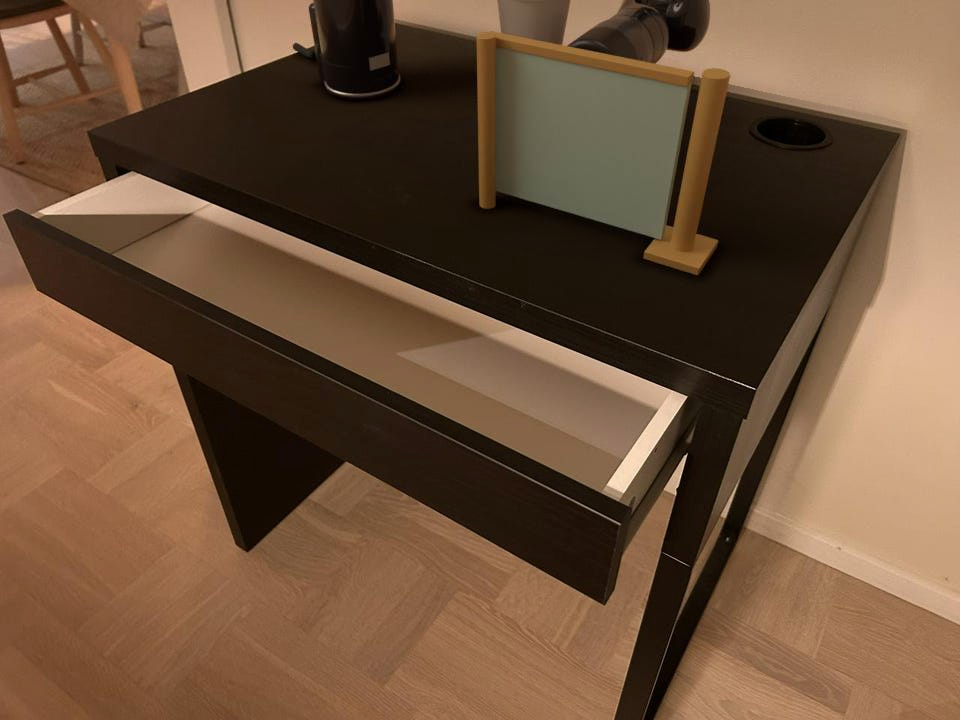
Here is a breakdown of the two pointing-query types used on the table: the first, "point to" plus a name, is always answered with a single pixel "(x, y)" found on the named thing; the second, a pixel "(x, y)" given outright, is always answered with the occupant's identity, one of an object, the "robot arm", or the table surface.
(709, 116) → the hinge post
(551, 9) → the foam cup
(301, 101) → the table surface
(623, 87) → the glass door
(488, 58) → the wooden dowel rod
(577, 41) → the robot arm
